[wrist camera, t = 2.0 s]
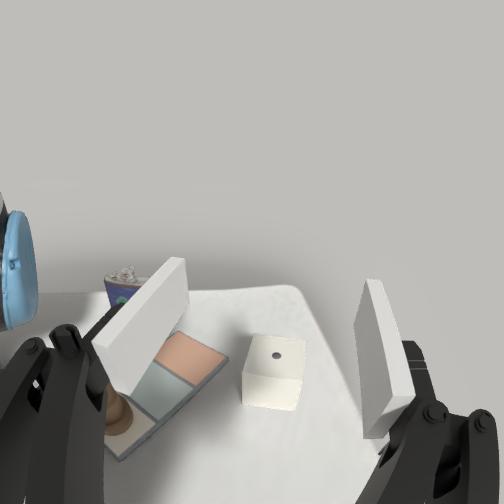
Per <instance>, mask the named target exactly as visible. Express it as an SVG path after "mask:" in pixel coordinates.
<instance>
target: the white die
mask: <svg viewBox="0 0 504 504" xmlns="http://www.w3.org/2000/svg"><path fill="white" fill-rule="evenodd" d="M306 341H307V340H301V339H292V338H284V337H276V336H269V335H262V334H255V333H254V335H253V338H252V342H251V345H250V348H249V351H248V354H247V358H246V361H245V364H244V367H243V370H242V404H248V405H254V406H260V407H266V408H273V409H281V410H289V411H295V409H296V405H297V402H298V398H299V394H300V390H301V386H302V382H303V374H304V364H305V353H306Z"/></svg>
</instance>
